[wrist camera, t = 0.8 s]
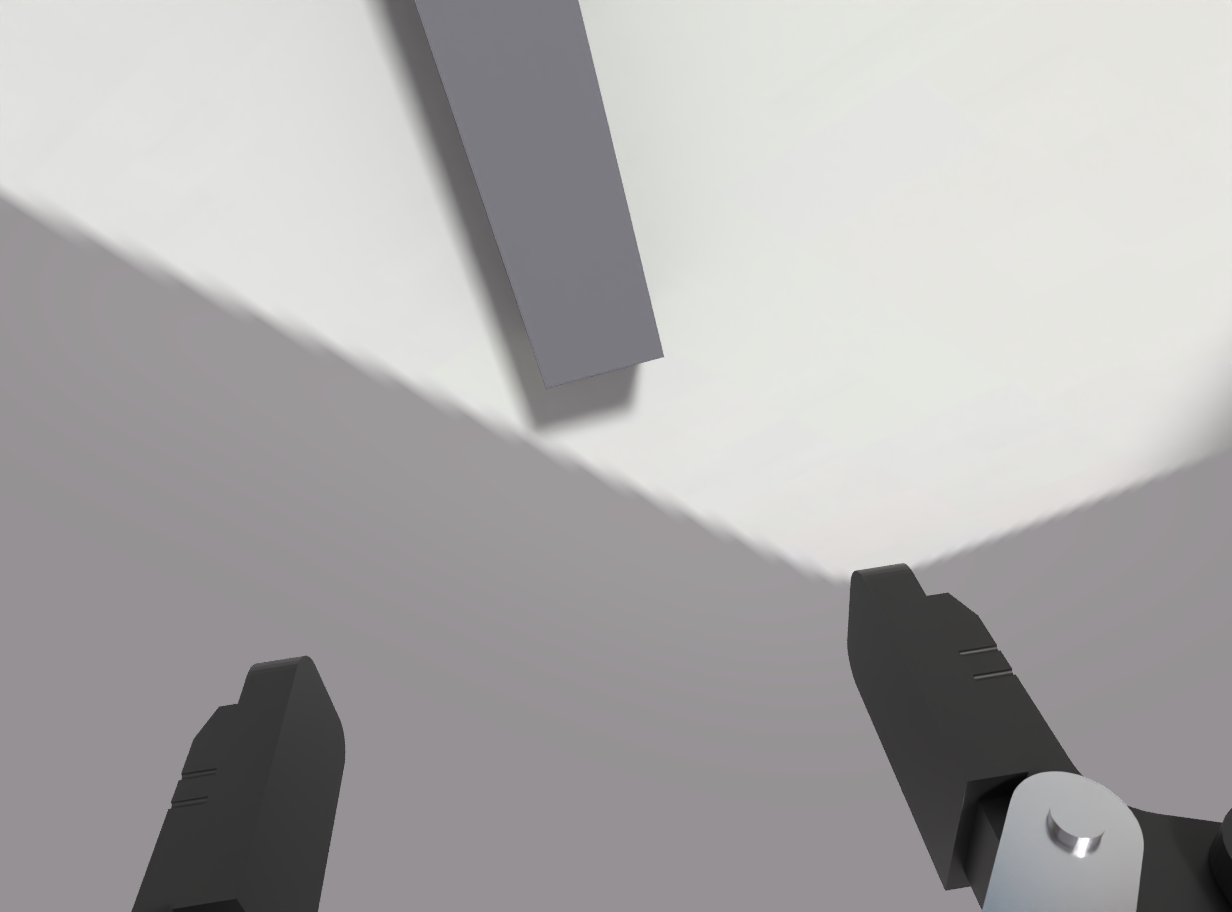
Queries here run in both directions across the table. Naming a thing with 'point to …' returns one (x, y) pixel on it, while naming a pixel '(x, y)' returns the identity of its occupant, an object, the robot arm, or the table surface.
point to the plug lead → (547, 178)
